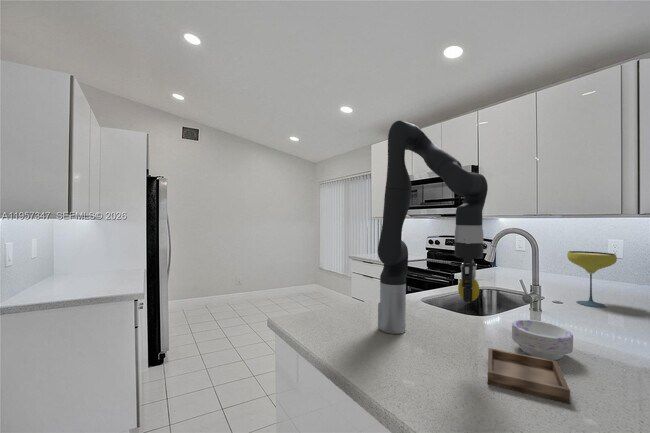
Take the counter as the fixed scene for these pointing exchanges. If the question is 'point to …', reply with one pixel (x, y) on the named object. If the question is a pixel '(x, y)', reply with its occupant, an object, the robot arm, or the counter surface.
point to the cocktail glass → (591, 267)
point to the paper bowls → (542, 339)
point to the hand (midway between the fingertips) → (468, 299)
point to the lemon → (474, 291)
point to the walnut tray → (527, 375)
